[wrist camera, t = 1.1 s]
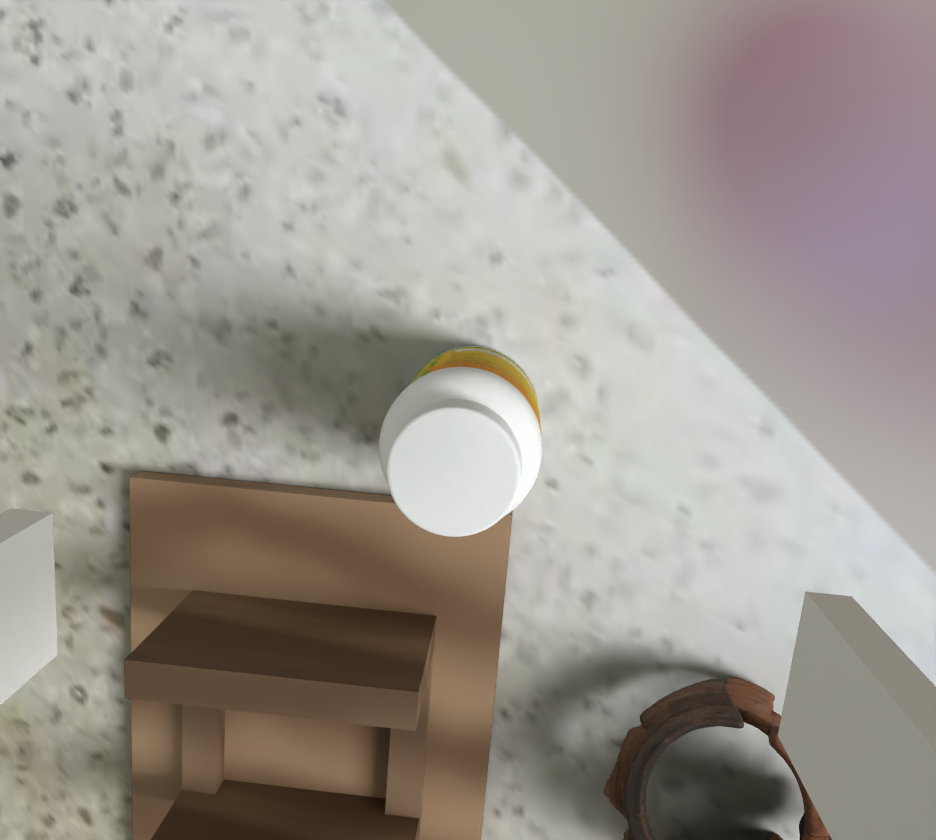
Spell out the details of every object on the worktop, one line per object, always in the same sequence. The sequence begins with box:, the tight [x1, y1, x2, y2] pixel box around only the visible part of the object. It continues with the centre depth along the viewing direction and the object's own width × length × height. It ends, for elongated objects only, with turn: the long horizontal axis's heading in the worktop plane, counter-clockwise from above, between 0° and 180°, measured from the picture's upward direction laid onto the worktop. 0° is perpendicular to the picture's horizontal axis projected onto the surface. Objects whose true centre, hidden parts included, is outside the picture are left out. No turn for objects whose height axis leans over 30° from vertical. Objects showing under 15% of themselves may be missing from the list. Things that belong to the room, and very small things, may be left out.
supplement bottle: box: [379, 346, 542, 537], centre depth 28 cm, size 5×5×10 cm
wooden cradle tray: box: [124, 471, 512, 840], centre depth 32 cm, size 20×16×7 cm
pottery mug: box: [603, 678, 832, 840], centre depth 33 cm, size 12×10×8 cm
